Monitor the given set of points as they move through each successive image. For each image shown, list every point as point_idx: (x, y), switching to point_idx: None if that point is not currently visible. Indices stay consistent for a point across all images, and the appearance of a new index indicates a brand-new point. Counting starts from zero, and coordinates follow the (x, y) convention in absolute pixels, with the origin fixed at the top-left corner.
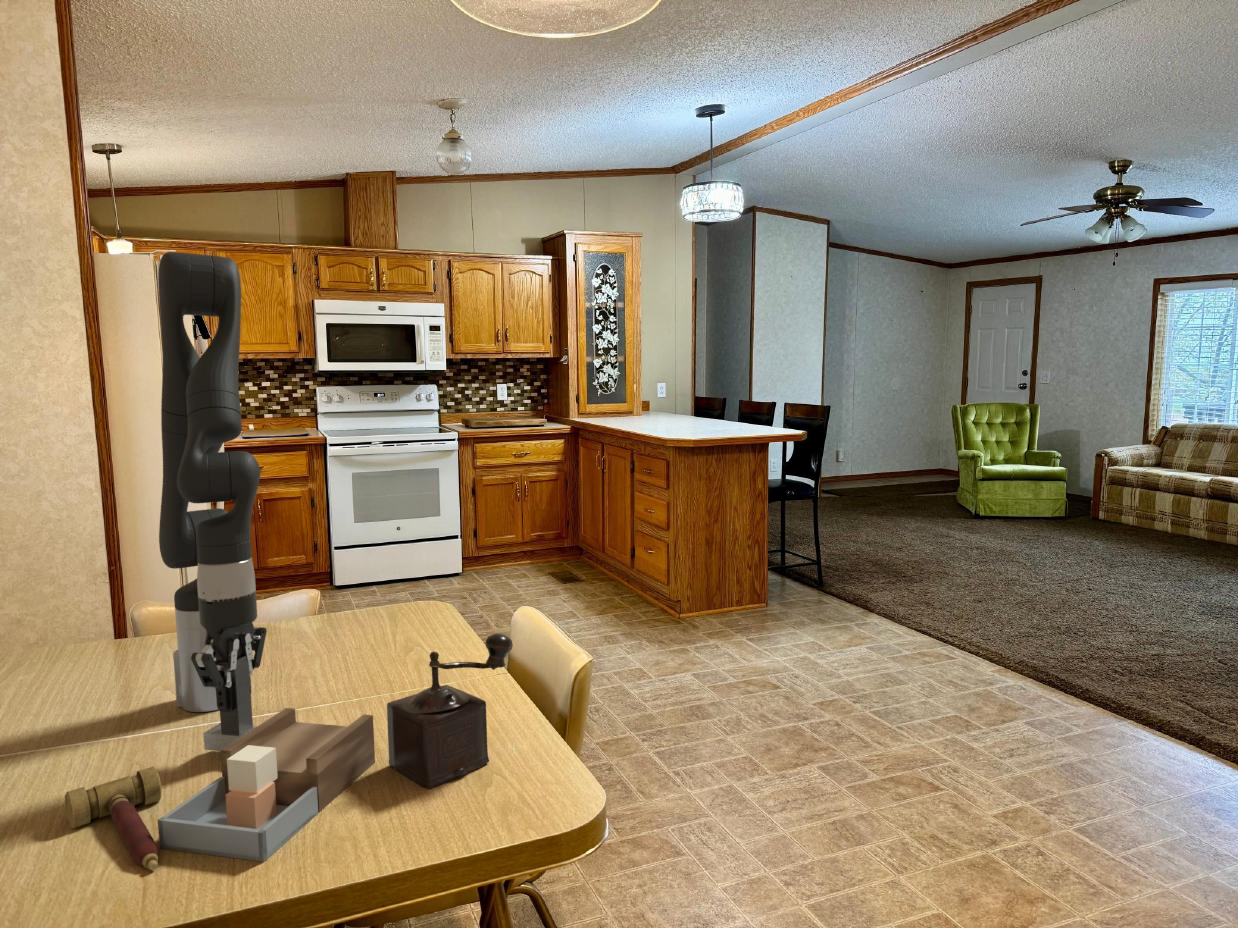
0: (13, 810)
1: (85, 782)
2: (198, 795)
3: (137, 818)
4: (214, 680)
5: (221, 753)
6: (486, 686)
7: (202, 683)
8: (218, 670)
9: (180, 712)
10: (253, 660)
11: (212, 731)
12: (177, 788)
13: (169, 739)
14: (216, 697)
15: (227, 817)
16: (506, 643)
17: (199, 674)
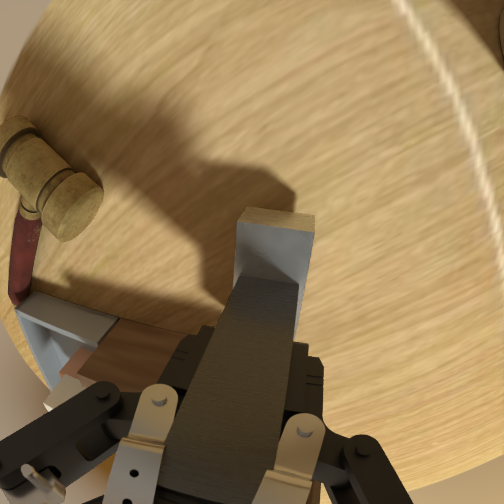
0: (44, 14)
1: (120, 22)
2: (56, 331)
3: (18, 265)
4: (87, 435)
5: (80, 370)
6: (476, 459)
7: (83, 390)
8: (90, 468)
9: (492, 3)
10: (330, 489)
11: (250, 242)
12: (128, 222)
13: (351, 37)
14: (168, 362)
15: (74, 354)
16: None
17: (46, 418)
